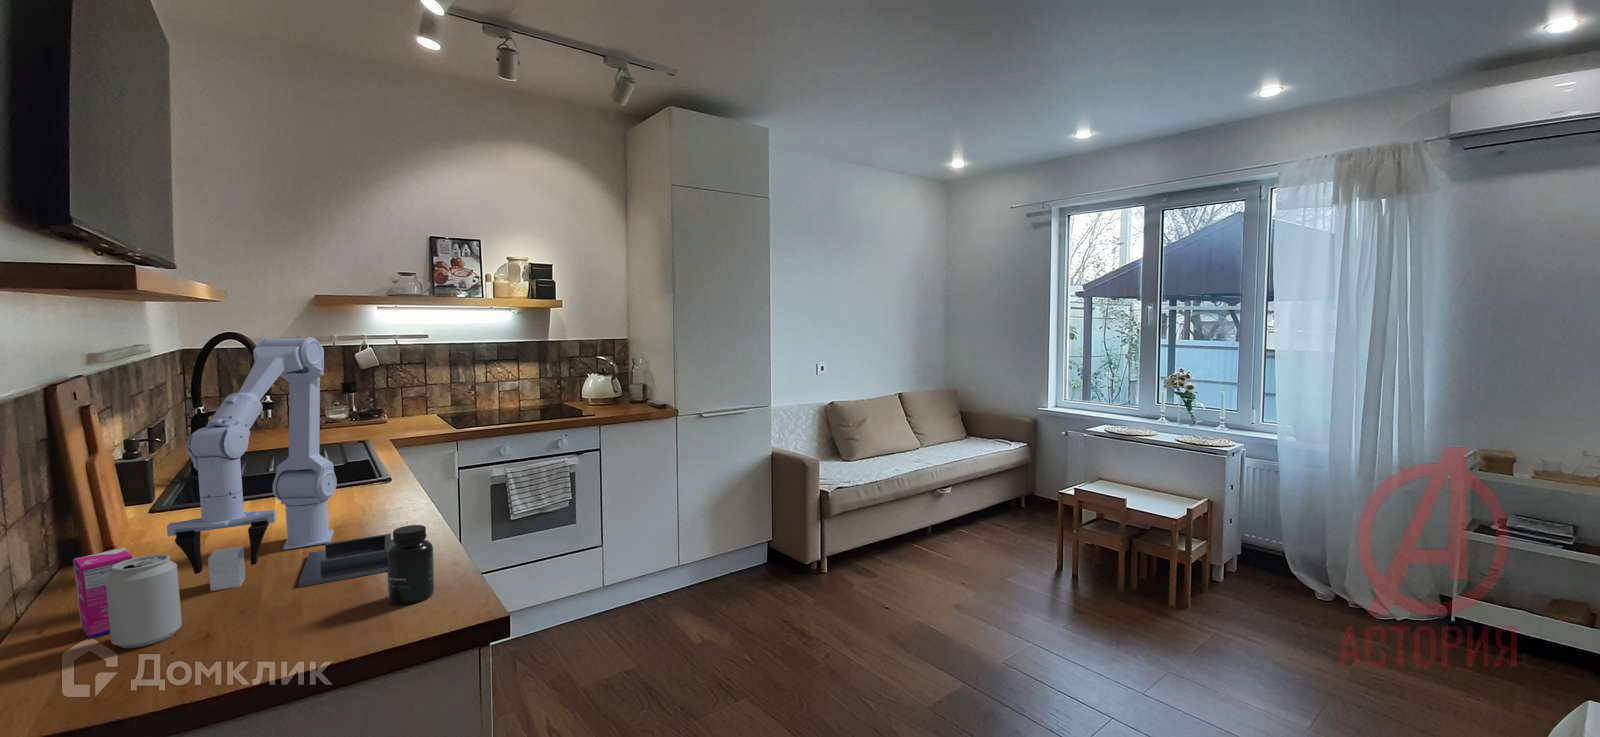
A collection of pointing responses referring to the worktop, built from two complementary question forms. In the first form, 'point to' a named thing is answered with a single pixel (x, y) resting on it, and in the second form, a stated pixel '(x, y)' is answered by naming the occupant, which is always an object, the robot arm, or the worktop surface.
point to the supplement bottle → (410, 566)
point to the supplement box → (95, 589)
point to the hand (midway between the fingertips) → (226, 567)
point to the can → (143, 601)
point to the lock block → (226, 568)
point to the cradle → (347, 560)
